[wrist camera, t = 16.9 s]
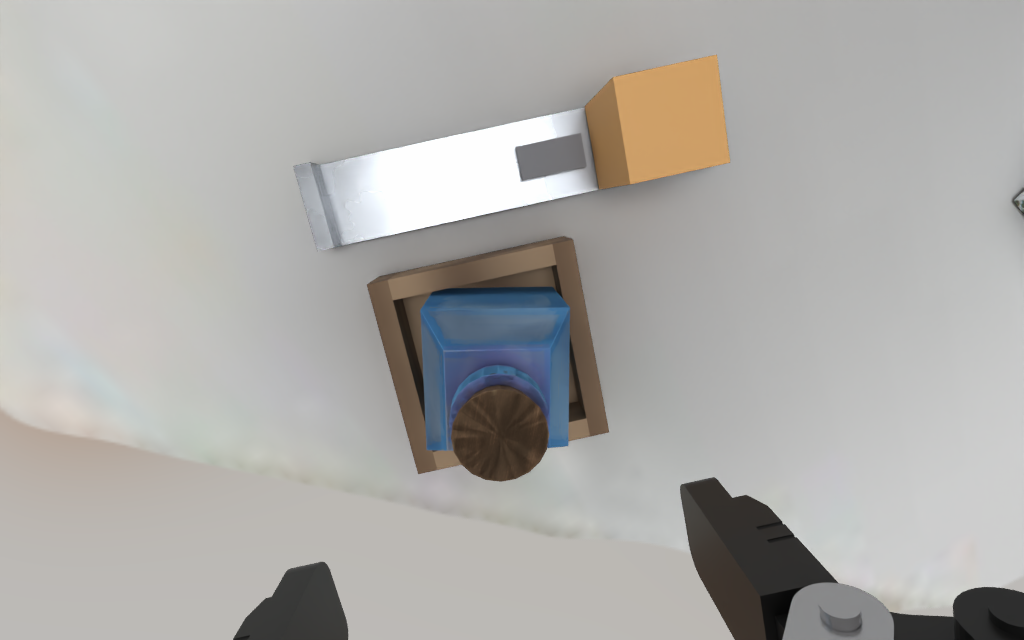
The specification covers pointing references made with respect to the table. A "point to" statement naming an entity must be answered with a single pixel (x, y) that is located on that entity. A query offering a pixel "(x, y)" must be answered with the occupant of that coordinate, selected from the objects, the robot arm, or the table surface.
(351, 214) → the rail
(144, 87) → the table surface
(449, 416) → the perfume bottle
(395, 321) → the tray
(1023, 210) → the syrup box
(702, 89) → the tan rectangular block
